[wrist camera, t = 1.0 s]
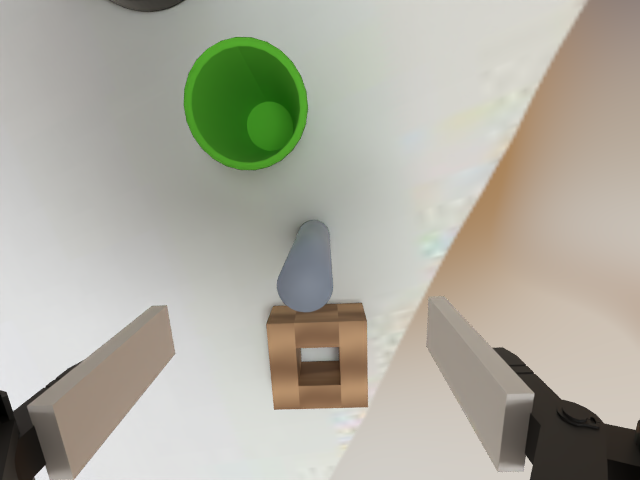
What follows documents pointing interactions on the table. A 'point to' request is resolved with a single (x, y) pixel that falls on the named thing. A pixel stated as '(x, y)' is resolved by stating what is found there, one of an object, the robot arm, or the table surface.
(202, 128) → the cup
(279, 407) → the wooden socket block
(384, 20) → the table surface
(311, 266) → the blue-grey rounded rod
